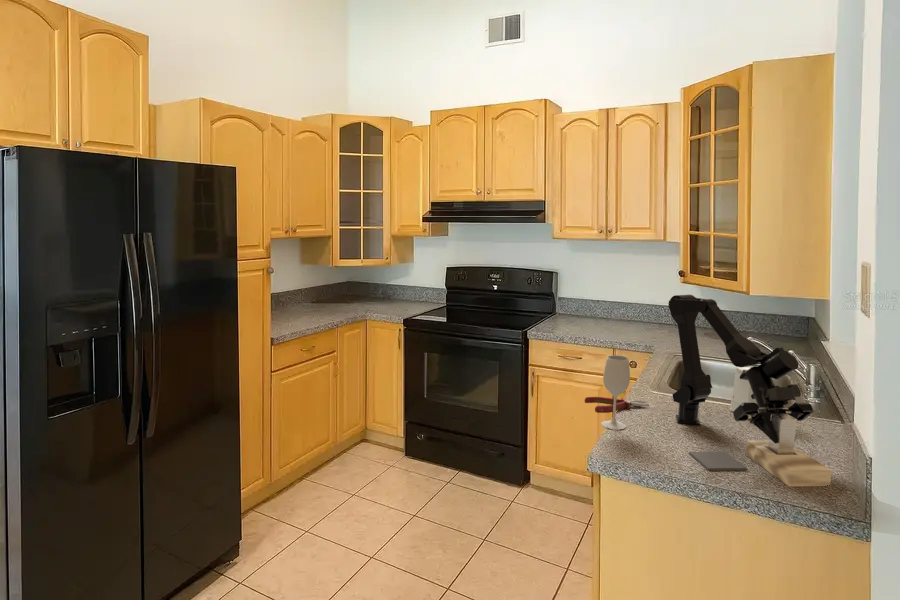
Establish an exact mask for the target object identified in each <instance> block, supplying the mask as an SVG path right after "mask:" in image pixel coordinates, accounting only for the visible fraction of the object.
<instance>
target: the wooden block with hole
mask: <svg viewBox="0 0 900 600" xmlns="http://www.w3.org/2000/svg"><path fill="white" fill-rule="evenodd" d="M768 445H769V439H768V440H758V439H757V440H746V449H745V456H746V457H748V458H749V459H750V460H752V461H754V462H755V463H756V464H757V465H759V466H761V467H762V468H763V469H764V470H766V471H767V472H768V473H770V474H771V475H773V476H774V477H775V478H777V479H778V480H780V481H781V482H783V483H784V484H785V485H786V486H788V487H830V486H831V480H832V472H833V470H832V469H831V468H829V467H828V466H826V465H825V464H823V463H821V462H819V461H818V460H817V459H815V458H813V457H812V456H809V455H808V454H806V453H805V452H803V451H802V450H800V449H799V448H796V447H795V446H794V452H793V455H776V454H775V453H773V452H772V451H770V450H769V449H768ZM827 485H828V486H827ZM829 485H830V486H829Z"/></svg>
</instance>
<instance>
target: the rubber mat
mask: <svg viewBox="0 0 900 600" xmlns="http://www.w3.org/2000/svg"><path fill="white" fill-rule="evenodd" d="M688 454H689V455H690V456H691V457H692V458H693V459H694V460H695V461H696V462H698V463H699V464H700V465H701V466H702V467H704V468H705V469H706V470H707V471H747V470H748V467H746V466H745V465H744V464H743V463H741V462H740V461H739V460H737V459H736V458H735V457H734V456H732V455H731V454H730V453H728V452H727V451H689V452H688Z"/></svg>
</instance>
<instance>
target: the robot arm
mask: <svg viewBox="0 0 900 600" xmlns="http://www.w3.org/2000/svg"><path fill="white" fill-rule="evenodd" d="M667 304H668V310H669V313H670V316H671V318H672V319H673V320H674V322H675V323H676V325H677V330H678V331H677V332H678V337H679V344H680V351H681V357H682V358H681V359H682V363H683V364H682V365H683V373H682V375H681V378H680V388H679V389H678V390H676V391H675V392H673V394H672V400H673V402H675V403H678V414H675V418H676V422H677V423H678V424H685V425H686V424H687V425H695V426H701V421H700V419H699V410H700V409H699V407H700V404H701V403H705V402H706V400H707V398H708V397H709V396H710V394H712V389H713V385H712V381H711V380H712V379H711V375H710V374H706V373H705V372H704V370H703V369H702V363H701V356H700V350H699V344H698V342H699V341H698V337H697V336H698V335H697V329H696V320H697V318H698V315H699V313H700V314H701V315H702V316H703V317H704V319H705V321H707V322H708V324H709V325H710V326H711V328H712V329H713V331H714V332H715V333H716V334H717V336H718V337H719V339H721V341H722V343H723V344H724V346H725V352H726V355H727V357H728V358H729V361H730V362H731V364H732V365H733V366H735V368H736V367H751V368H750V369H748V370H743V372H742V374H741V375H740V379H743V380H748V381H749V384H750V387H751V389H752V392H753V394H752V395H751V398H752V399H755V400H756V402H757V404H756V403H741V404H740V405H739V406H738V407H737V408H736V409H735V410H734V412H733V411H732V412H733V417H734V420H735V421H736V422H747V420H749V419H748V415H751V420H750V421H749V424H751V425H754V426H756V428H758V429H759V430H760V431H761V432H762V433H763V434H765V436H766V437H768V439H769V438H770V439H771V440H772V441H773V442H774V443H775V444H776V443H778V438H777V435H776V432H775V430H774V427H773V425H772V422H771V417H772V414H788V415H790V416H792V417H794V418H796V419H797V422H801V421H804V420H806V419H807V418H808V417H809V416H810V415H812V414H813V413H815V409H814V407H813V405H812V403H809V402H793V403H792V405H790V406H789V407H784V406H786V405H788V404H789V402H788V401H796V398H800V397H801V395H802V393H801V389H800V387H799V385H798V384H787V385H786V386H779V385H775V382H774V380H781V379H782V378H784V377H785V376H787V375H788V374H790V373H792V372H794V371H796V370H797V369H798V368H799V363H798V360H797V358H796V357H795V356H793V354H792V353H790V352H789V351H787V350H785V349H784V348H783V347H781V346H780V347H775V348H774V349H773V350H772V351H771V352H770V353H766V352H764V351H761V349H760V348H759V347H758V346H757V345H756V344H755V343H754V342H753V341H751V340H750V339H748V338H746V337H744V336H743V335H742V334H741V333H740V332H739V330H737V328H736V327H735V326H734V324H733V323H732V322H731V321H730V319H729V318H728V317H727V315H725V314H724V312H723V310H722V309H721V308H720V307H719V306H718V303H717V301H716V300H715V299H712V298H701V297H696V296H694V295H693V294H676V295H675V294H674V295H673V296H672V297H671V298H670V299H669V300H668V303H667ZM756 365H758V366H756Z"/></svg>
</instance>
